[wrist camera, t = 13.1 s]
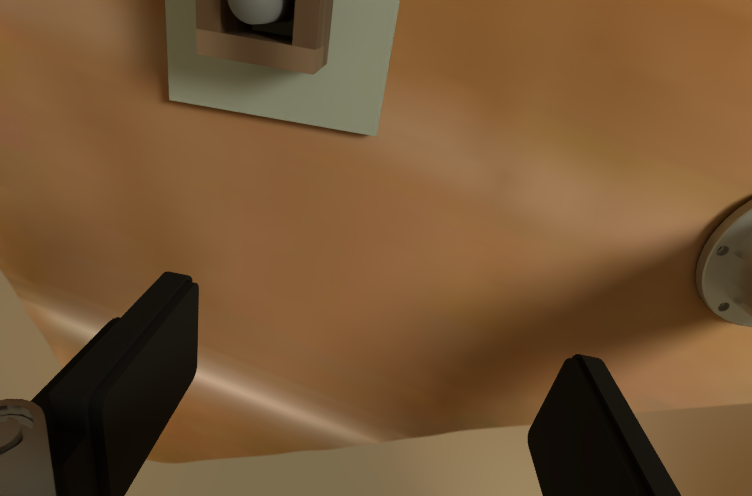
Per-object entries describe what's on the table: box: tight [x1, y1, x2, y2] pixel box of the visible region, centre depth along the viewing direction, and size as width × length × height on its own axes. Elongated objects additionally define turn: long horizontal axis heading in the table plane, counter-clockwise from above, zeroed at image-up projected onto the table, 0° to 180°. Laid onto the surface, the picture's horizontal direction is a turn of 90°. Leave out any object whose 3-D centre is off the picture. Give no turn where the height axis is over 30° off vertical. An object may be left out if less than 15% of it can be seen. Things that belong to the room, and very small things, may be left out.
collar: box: [196, 0, 334, 75], centre depth 24 cm, size 6×6×6 cm
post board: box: [165, 0, 400, 136], centre depth 24 cm, size 14×14×8 cm
